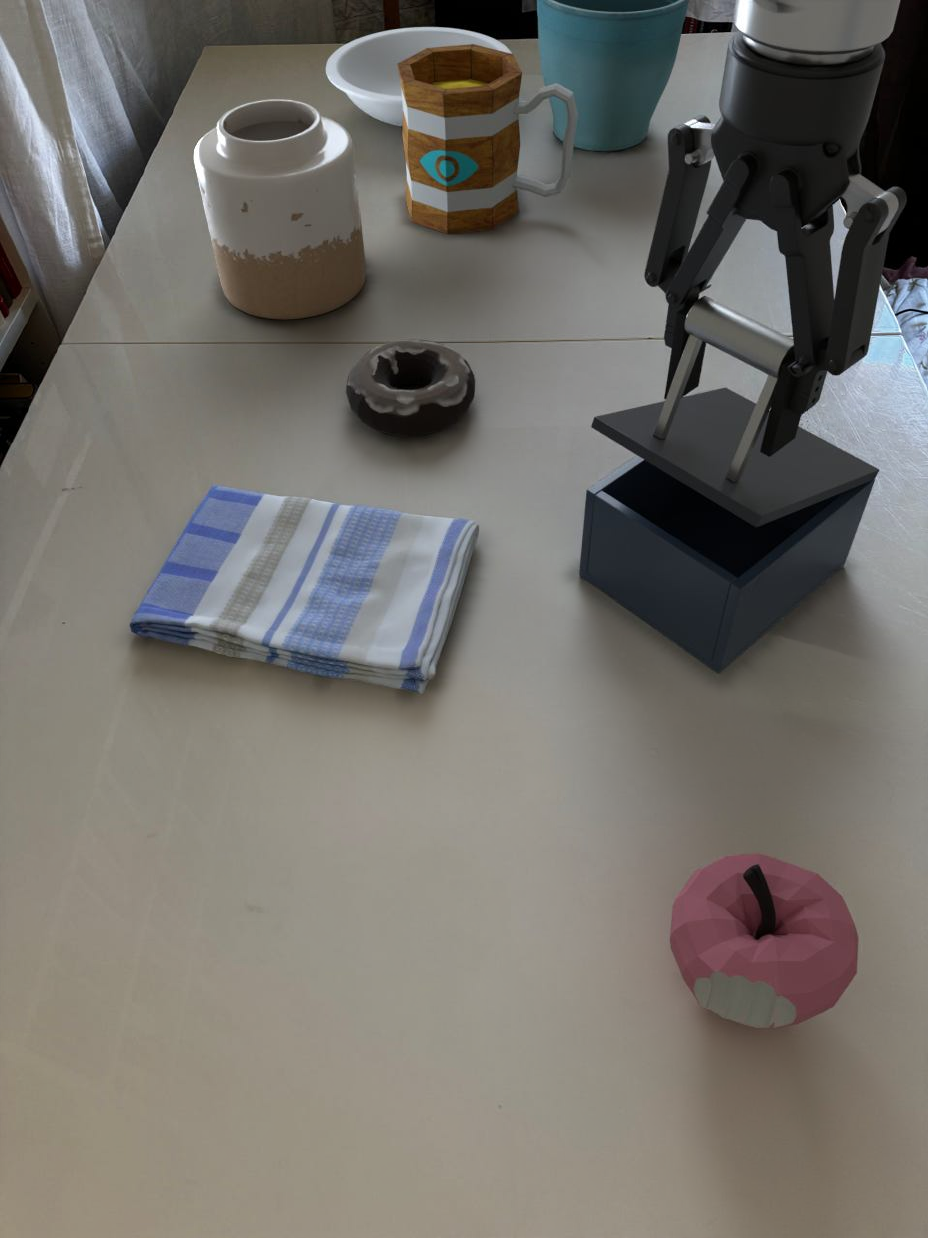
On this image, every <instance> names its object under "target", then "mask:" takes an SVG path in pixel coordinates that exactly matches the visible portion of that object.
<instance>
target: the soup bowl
mask: <svg viewBox="0 0 928 1238" xmlns="http://www.w3.org/2000/svg"><path fill="white" fill-rule="evenodd" d="M469 44H475V45H479V46H483V47H487V48H491V49H495V50H499V51H503V52H507V53H511V54H513V53H512V51H511V49H510V48H509V47H507V46H506V45H505V44H504V43H503V42H501V41H500V40H497V39H496V38H494V37H491V36H489V35H486V34H483V33H480V32H476V31H471V30H468V29H467V30H466V29H461V28H454V27H442V26H441V27H439V26H421V27H420V26H415V27H403V28H396V29H388V30H384V31H379V32H375V33H371V34H368V35H365V36H362V37H358V38H356V39H353V40H351V41H349V42H347V43H345V44H344V45H342V46H340V47H338V48H337V49H336V50H335V51H334V52H332V54H331V55H330V56H329V57H328V59H327V62H326V63H325V64H326V65H325V74H326V76H327V79H328V80H329V82H331V84H332V85H333V86H334V87H336V88H337V89H338V90H340V91H342V92H343V93H345V94H346V95H347V97H348V98H349V99H350V100H351V101H352V103H353V104H354V105H355V106H356V107H358V109H360V110H361V111H363V112H364V113H365V114H367V115H368V116H371V117H372V118H373V119H374V120H375V119H376V120H378V121H380V122H382V123H386V124H389V125H392V126H398V127H403V102H402V87H401V82H400V76H399V70H398V63H400V62H401V61H403V60H405V59H407V58H409V57H411V56H413V55H415V54H417V53H418V52H420V51H422V50H424V49H426V48H433V47H445V46H457V45H469Z"/></svg>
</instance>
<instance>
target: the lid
mask: <svg viewBox="0 0 928 1238" xmlns="http://www.w3.org/2000/svg"><path fill="white" fill-rule="evenodd" d="M701 297H702V298H701ZM701 297H699V299H698V300H697V301H696V302H695V303H694V304H693V306H692V307H691V308H690V310H689V312H688V314H687V317H686V320H685V331H686V332H687V333H688V334H690V335H689V337H688V340H687V343H686V345H685V348H684V351H683V354H682V356H681V359H680V362H679V365H678V367H677V370H676V373H675V376H674V378H673V381H672V384H671V387H670V389H669V392H668V395H667V398H666V399H664V400H663V401H659V402H654V403H650V404H645V405H641V406H635V407H632V408H628V409H623V410H618V411H613V412H610V413H605V414H600V415H596V416H594V417H593V420H592V423H591V425H590V426H591V427H590V428H591V429H593V430H595V431H596V432H598V433H599V434H601V435H603V436H605V437H606V438H608V439H610V440H611V441H613V442H615V443H616V444H617V445H619V446H621V447H623V448H624V449H626V450H628V451H629V452H630V453H632V454H634V455H635V456H637V455H638V456H639V457H641V458H642V459H644V460H646V461H647V462H649V463H651V464H652V465H654V466H656V467H657V468H659V469H661V470H662V471H664V472H666V473H667V474H669V475H671V476H672V477H674V478H675V479H677V480H679V481H680V482H682V483H684V484H685V485H687V486H689V487H690V488H692V489H694V490H695V491H697V492H699V493H700V494H702V495H704V496H705V497H707V498H708V499H710V500H712V501H713V502H715V503H717V504H718V505H720V506H722V507H723V508H725V509H727V510H728V511H730V512H732V513H733V514H735V515H737V516H738V517H740V518H741V519H743V520H745V521H746V522H748V523H750V524H751V525H753V526H755V527H759V526H761V525H764V524H766V523H768V522H771V521H773V520H776V519H778V518H781V517H783V516H786V515H788V514H791V513H793V512H795V511H798V510H800V509H803V508H805V507H808V506H810V505H813V504H815V503H818V502H820V501H822V500H825V499H827V498H830V497H832V496H835V495H837V494H840V493H842V492H845V491H847V490H849V489H852V488H854V487H857V486H859V485H862V484H864V483H867V482H869V481H872V480H874V479H875V480H876V478H877V476H878V474H879V472H880V469H879V468H878V467H876V466H874V465H872V464H870V463H868V462H867V461H864V460H863V459H861V458H859V457H857V456H855V455H853V454H852V453H850V452H848V451H846V450H844V449H842V448H841V447H839V446H836V444H835V445H834V444H833V443H830V442H829V441H827V440H826V439H823V438H822V437H820V436H818V435H816V434H814V433H812V432H810V431H809V430H807V429H804V428H803V427H801V426H800V425H799V426H798V430H797V433H796V437H795V439H793V440H792V441H791V442H789V443H788V444H787V445H785V446H784V447H783V448H781V449H780V450H779V451H777V452H776V453H775V454H773V455H772V456H771V457H769V456H767V455H765V454H763V453H761V452H760V449H761V445H762V441H763V437H764V433H765V429H766V425H767V421H768V417H769V413H770V409H771V405H772V400H773V396H774V392H775V388H776V384H777V380H778V376H779V372H780V368H781V364H782V363H784V362H785V361H787V360H788V359H789V358H791V357H792V356H794V355H795V352H794V342H793V337H791V336H788V335H786V334H784V333H781V332H779V331H778V330H775V329H773V328H772V327H769V326H767V325H766V324H763V323H761V322H759V321H757V320H755V319H753V318H751V317H749V316H747V315H745V314H743V313H741V312H738V311H736V310H734V309H732V308H730V307H728V306H726V305H723V304H722V303H720V302H718V301H715V300H714V299H713V298H711V297H709V296H706V297H703V296H701ZM708 297H709V298H708ZM710 298H711V299H710ZM712 299H713V300H712ZM702 341H704V342H705V343H706V345H710V346H711V347H713V348H715V349H718V350H719V351H721V352H723V353H725V354H727V355H729V356H731V357H733V358H735V359H737V360H739V361H741V362H743V363H745V364H746V365H748V366H750V367H753V368H754V369H756V370H758V371H761V372H762V373H763V374H766V375H767V378H766V380H765V381H764V385H763V386H762V389H761V391H760V394H759V397H758V399H757V401H756V402H754V401H752V400H750V399H749V398H747V397H745V396H743V395H741V394H739V393H737V392H735V391H734V390H732V389H729V388H728V387H722V388H717V389H712V390H707V391H703V392H698V393H694V394H690V395H685V396H683V397H682V394H683V392H684V389H685V386H686V384H687V381H688V378H689V376H690V373H691V370H692V368H693V365H694V362H695V360H696V357H697V354H698V352H699V349H700V346H701V343H702ZM681 397H682V398H681Z"/></svg>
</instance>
